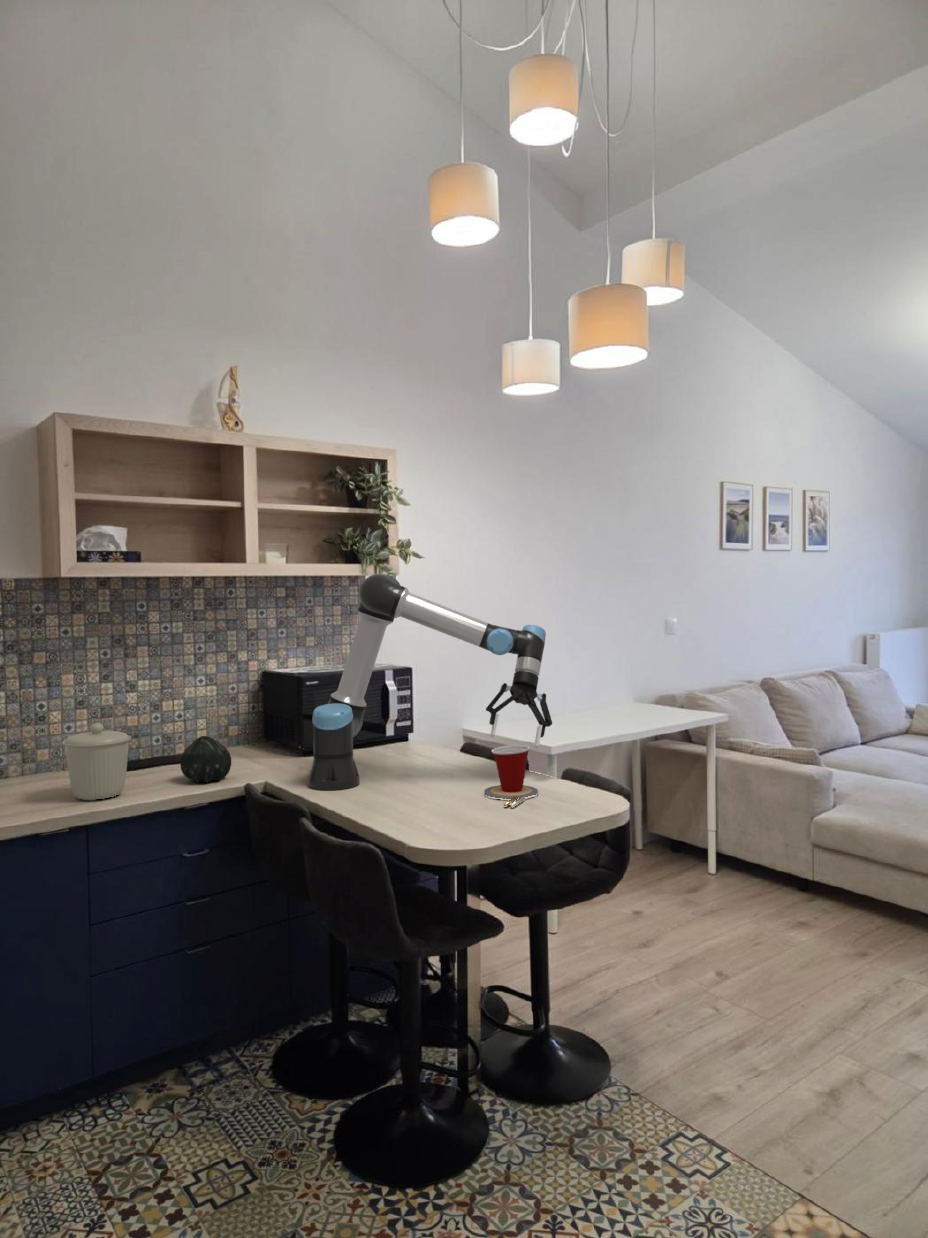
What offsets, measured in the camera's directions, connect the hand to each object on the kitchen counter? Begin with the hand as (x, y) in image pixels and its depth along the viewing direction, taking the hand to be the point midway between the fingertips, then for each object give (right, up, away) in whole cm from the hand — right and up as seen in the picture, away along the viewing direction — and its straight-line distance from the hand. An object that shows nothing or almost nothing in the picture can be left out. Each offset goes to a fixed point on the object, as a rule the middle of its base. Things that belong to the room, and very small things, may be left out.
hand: (514, 741), depth 250 cm
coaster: (-2, -13, -13) cm, 18 cm away
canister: (-119, -15, -8) cm, 120 cm away
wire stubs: (-1, -13, -24) cm, 28 cm away
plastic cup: (-2, -12, -13) cm, 18 cm away
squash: (-94, -14, +11) cm, 96 cm away
